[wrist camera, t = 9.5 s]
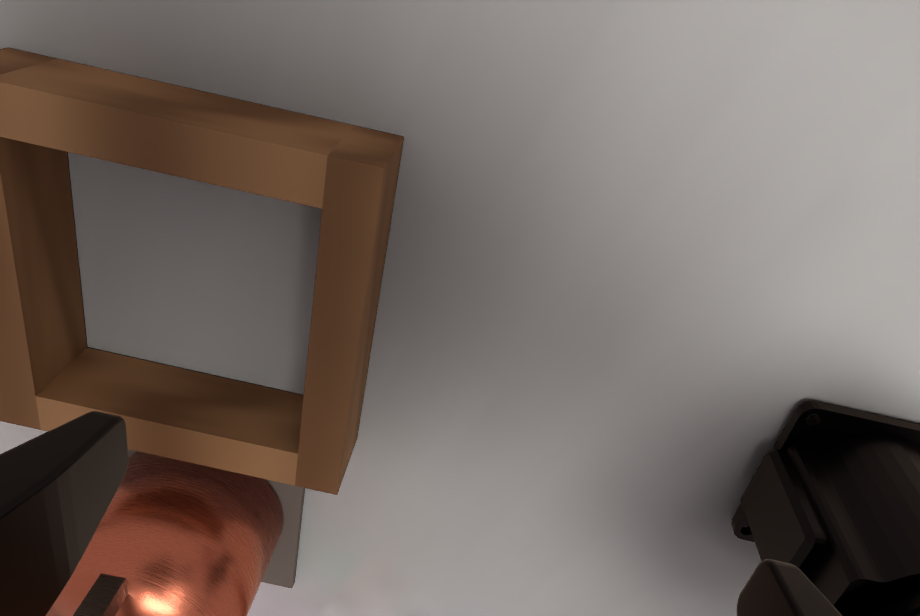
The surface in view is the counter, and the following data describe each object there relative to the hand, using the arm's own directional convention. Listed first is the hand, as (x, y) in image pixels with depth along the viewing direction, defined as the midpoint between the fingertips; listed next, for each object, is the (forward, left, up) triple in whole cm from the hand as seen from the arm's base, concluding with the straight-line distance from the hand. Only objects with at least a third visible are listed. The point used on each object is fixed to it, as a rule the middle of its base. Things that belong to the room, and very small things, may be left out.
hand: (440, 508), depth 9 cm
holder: (+9, +5, -13) cm, 17 cm away
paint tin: (+9, +16, -12) cm, 22 cm away
